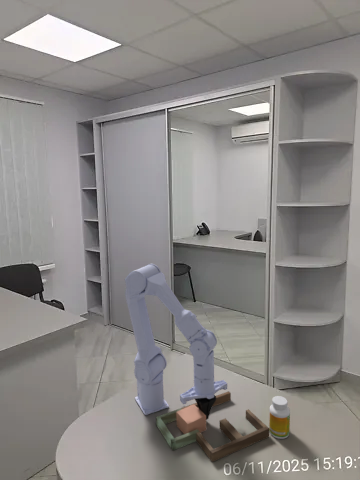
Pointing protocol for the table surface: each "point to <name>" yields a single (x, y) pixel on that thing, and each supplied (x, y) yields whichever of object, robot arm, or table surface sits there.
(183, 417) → the terracotta block
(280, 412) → the supplement bottle
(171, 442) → the frame
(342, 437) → the table surface
